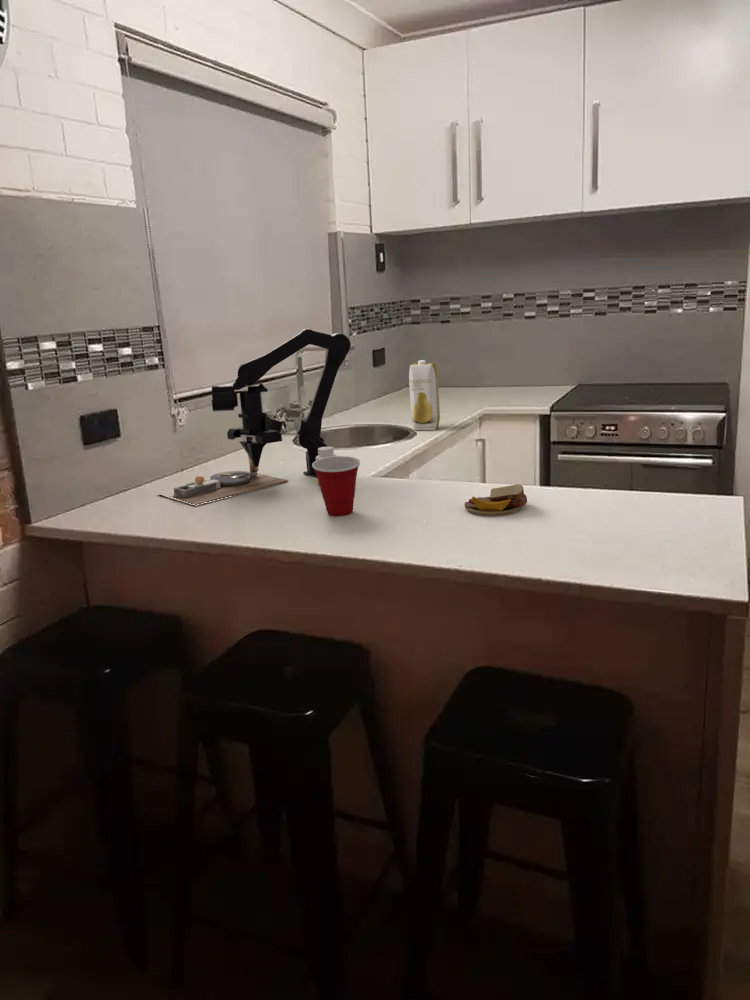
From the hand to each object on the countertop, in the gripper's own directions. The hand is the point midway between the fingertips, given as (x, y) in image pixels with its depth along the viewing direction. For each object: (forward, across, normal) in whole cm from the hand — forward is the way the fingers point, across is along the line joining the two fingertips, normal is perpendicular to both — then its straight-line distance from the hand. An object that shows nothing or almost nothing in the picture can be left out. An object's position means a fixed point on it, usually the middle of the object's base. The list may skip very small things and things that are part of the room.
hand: (256, 466), depth 206 cm
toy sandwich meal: (+5, -70, -16) cm, 72 cm away
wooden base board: (+4, +1, +10) cm, 11 cm away
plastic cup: (+5, -44, +6) cm, 45 cm away
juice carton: (0, +12, -78) cm, 79 cm away
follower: (+4, +1, +16) cm, 17 cm away
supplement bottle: (+4, -23, -7) cm, 24 cm away
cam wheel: (+3, +3, +6) cm, 7 cm away
